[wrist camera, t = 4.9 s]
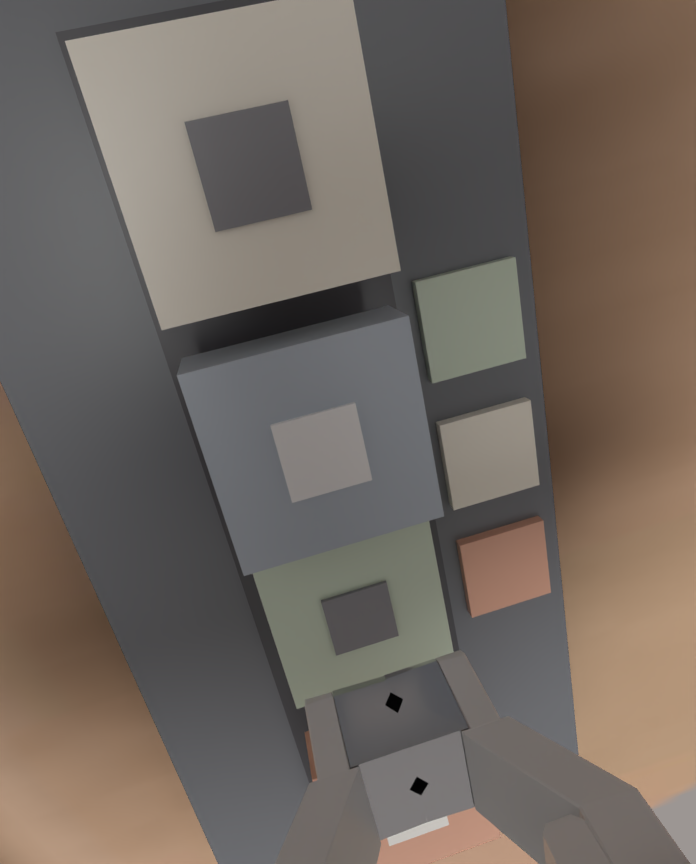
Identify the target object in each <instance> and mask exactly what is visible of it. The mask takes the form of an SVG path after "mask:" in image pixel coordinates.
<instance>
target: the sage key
mask: <svg viewBox="0 0 696 864" xmlns="http://www.w3.org/2000/svg"><path fill="white" fill-rule="evenodd" d="M253 577H254V580H255V583H256V586H257V589H258V592H259V595H260V598H261V601H262V604H263V607H264V611H265V614H266V617H267V620H268V623H269V626H270V629H271V632H272V635H273V638H274V641H275V644H276V647H277V650H278V653H279V656H280V659H281V662H282V665H283V668H284V672H285V675H286V678H287V681H288V684H289V687H290V690H291V693H292V696H293V699H294V702H295V705H296V708H297V709H299V708H302V707H305V699H309V698H312V697H316V696H319V695H323V694H326V693H329V692H332V693H333V691H334V690H337V689H341V688H344V687H348V686H351V685H355V684H358V683H361V682H365V681H368V680H372V679H375V678H378V677H382V676H384V675H386V674H389V673H392V672H395V671H398V670H401V669H404V668H407V667H410V666H413V665H416V664H419V663H422V662H425V661H428V660H431V659H435V658H437V657H440V656H443V655H446V654H449V653H452V652H454V651H453V646H452V640H451V635H450V630H449V624H448V619H447V614H446V608H445V603H444V598H443V592H442V587H441V582H440V576H439V571H438V566H437V560H436V555H435V550H434V544H433V539H432V534H431V528H430V523H429V521H427V522H423V523H420V524H417V525H413V526H410V527H407V528H403V529H400V530H397V531H393V532H390V533H387V534H383V535H380V536H377V537H373V538H370V539H367V540H363V541H360V542H357V543H353V544H350V545H346V546H343V547H340V548H336V549H333V550H330V551H326V552H323V553H320V554H316V555H313V556H310V557H306V558H303V559H300V560H296V561H293V562H290V563H286V564H283V565H280V566H276V567H273V568H269V569H266V570H263V571H259V572H256V573H253Z"/></svg>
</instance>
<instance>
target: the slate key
mask: <svg viewBox="0 0 696 864" xmlns="http://www.w3.org/2000/svg"><path fill="white" fill-rule="evenodd" d="M177 378H178V381H179V384H180V387H181V390H182V393H183V396H184V399H185V402H186V405H187V408H188V411H189V414H190V417H191V420H192V423H193V426H194V429H195V432H196V435H197V438H198V441H199V444H200V447H201V450H202V453H203V456H204V459H205V462H206V465H207V468H208V471H209V474H210V477H211V479H212V482H213V485H214V488H215V491H216V494H217V497H218V500H219V503H220V506H221V509H222V512H223V515H224V518H225V521H226V524H227V527H228V530H229V533H230V536H231V539H232V542H233V545H234V548H235V551H236V554H237V557H238V560H239V563H240V566H241V569H242V572H243V575H244V576H246V575H249V574H253V573H256V572H259V571H263V570H266V569H269V568H273V567H276V566H280V565H283V564H286V563H290V562H293V561H296V560H300V559H303V558H306V557H310V556H313V555H316V554H320V553H323V552H326V551H330V550H333V549H336V548H340V547H343V546H346V545H350V544H353V543H357V542H360V541H363V540H367V539H370V538H373V537H377V536H380V535H383V534H387V533H390V532H393V531H397V530H400V529H403V528H407V527H410V526H413V525H417V524H420V523H423V522H427V521H430V520H434V519H437V518H440V517H444V512H443V507H442V501H441V495H440V490H439V484H438V478H437V473H436V467H435V461H434V456H433V450H432V444H431V439H430V433H429V427H428V422H427V416H426V410H425V405H424V399H423V393H422V388H421V382H420V376H419V371H418V365H417V359H416V354H415V348H414V342H413V337H412V331H411V325H410V320H409V316H408V315H406V314H404V313H402V312H401V311H399V310H397V309H395V308H393V307H391V306H389V305H388V306H384V307H381V308H377V309H373V310H369V311H365V312H361V313H357V314H353V315H349V316H345V317H341V318H337V319H333V320H330V321H326V322H322V323H318V324H314V325H310V326H306V327H302V328H298V329H294V330H290V331H286V332H283V333H279V334H275V335H271V336H267V337H263V338H259V339H255V340H251V341H247V342H243V343H239V344H236V345H232V346H228V347H224V348H220V349H216V350H212V351H208V352H204V353H200V354H196V355H192V356H188V357H185V358H182V359H181V363H180V366H179V370H178V373H177Z"/></svg>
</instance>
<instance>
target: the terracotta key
mask: <svg viewBox="0 0 696 864" xmlns="http://www.w3.org/2000/svg"><path fill="white" fill-rule="evenodd" d="M304 733H305V739H306V745H307V751H308V758H309V764H310V770H311V776H312V781H313V782H314V781H317V775H316V769H315V763H314V757H313V752H312V746H311V740H310V734H309V731H307V732H304ZM498 838H501V835H500V830H499V829H498V828H496V827H495V826H494V825H493V824H492V823H491V822H489V821H488V820H487V819H486V818H485V817H483V816H482V815H481V814H480V813H479V812H478V811H476V809H475V807H474V808H471V809H467V810H464V811H461V812H458V813H455V814H452V815H449V816H445V817H442V818H439V819H436V820H433V821H430V822H427V823H424V824H422V825H419V826H416V827H414V828H411V829H409V830H406V831H403V832H401V833H398V834H396V835H393V836H391V837H388V838H385V839H383V840H380V841H381V847H380V852H379V856H378V860H377V864H430V863H432V862H435V861H438V860H441V859H443V858H446V857H449V856H451V855H454V854H457V853H460V852H462V851H465V850H468V849H471V848H473V847H476V846H479V845H482V844H484V843H487V842H490V841H493V840H495V839H498Z"/></svg>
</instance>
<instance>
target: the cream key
mask: <svg viewBox="0 0 696 864" xmlns="http://www.w3.org/2000/svg"><path fill="white" fill-rule="evenodd" d="M65 43H66V46H67V49H68V52H69V55H70V58H71V61H72V64H73V67H74V70H75V73H76V76H77V79H78V82H79V85H80V88H81V91H82V94H83V97H84V100H85V103H86V106H87V109H88V112H89V115H90V118H91V121H92V124H93V127H94V130H95V133H96V136H97V139H98V142H99V145H100V148H101V151H102V154H103V157H104V160H105V163H106V166H107V169H108V172H109V175H110V178H111V181H112V184H113V187H114V190H115V193H116V196H117V199H118V202H119V205H120V208H121V211H122V214H123V217H124V220H125V223H126V226H127V229H128V232H129V235H130V238H131V240H132V243H133V246H134V249H135V252H136V255H137V258H138V261H139V264H140V267H141V270H142V273H143V276H144V279H145V282H146V285H147V288H148V291H149V294H150V297H151V300H152V303H153V306H154V309H155V312H156V315H157V318H158V321H159V324H160V327H161V330H165V329H169V328H173V327H177V326H181V325H185V324H189V323H193V322H197V321H201V320H205V319H209V318H213V317H217V316H221V315H225V314H229V313H233V312H237V311H241V310H245V309H249V308H253V307H257V306H261V305H265V304H269V303H273V302H278V301H282V300H286V299H290V298H294V297H298V296H302V295H306V294H310V293H314V292H318V291H322V290H326V289H330V288H334V287H338V286H342V285H346V284H350V283H354V282H358V281H362V280H366V279H370V278H374V277H378V276H382V275H386V274H390V273H394V272H398V271H401V269H400V263H399V257H398V252H397V246H396V240H395V235H394V229H393V223H392V218H391V212H390V206H389V201H388V195H387V189H386V184H385V178H384V172H383V167H382V161H381V155H380V150H379V144H378V138H377V133H376V127H375V121H374V116H373V110H372V104H371V99H370V93H369V87H368V82H367V76H366V70H365V65H364V59H363V53H362V48H361V42H360V36H359V31H358V25H357V19H356V14H355V8H354V2H353V0H275V1H270V2H265V3H260V4H254V5H249V6H244V7H239V8H234V9H228V10H223V11H218V12H213V13H208V14H202V15H197V16H192V17H187V18H182V19H176V20H171V21H166V22H161V23H156V24H150V25H145V26H140V27H135V28H130V29H124V30H119V31H114V32H109V33H104V34H99V35H93V36H88V37H83V38H78V39H73V40H67V41H65Z"/></svg>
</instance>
